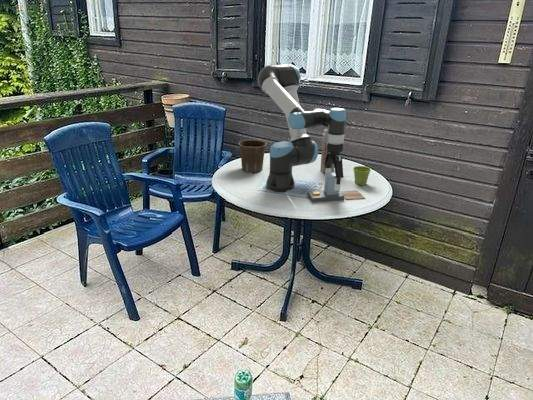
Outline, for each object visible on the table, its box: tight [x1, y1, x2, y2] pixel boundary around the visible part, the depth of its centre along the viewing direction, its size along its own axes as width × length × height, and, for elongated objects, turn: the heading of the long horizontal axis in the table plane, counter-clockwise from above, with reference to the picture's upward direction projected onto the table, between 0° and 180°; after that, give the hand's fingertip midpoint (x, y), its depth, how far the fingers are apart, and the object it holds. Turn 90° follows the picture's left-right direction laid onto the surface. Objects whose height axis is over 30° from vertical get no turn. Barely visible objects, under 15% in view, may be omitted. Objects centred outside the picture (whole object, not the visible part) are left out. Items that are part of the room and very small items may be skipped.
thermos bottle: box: [319, 127, 335, 174], centre depth 228 cm, size 8×8×28 cm
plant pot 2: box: [352, 165, 372, 186], centre depth 213 cm, size 9×9×9 cm
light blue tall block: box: [323, 172, 340, 196], centre depth 193 cm, size 4×6×12 cm
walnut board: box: [339, 190, 366, 201], centre depth 197 cm, size 10×10×1 cm
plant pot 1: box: [238, 139, 268, 174], centre depth 231 cm, size 16×16×16 cm
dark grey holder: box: [306, 189, 345, 203], centre depth 194 cm, size 9×16×4 cm, turn 101°
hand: (332, 185), depth 192 cm, fingers open, 12 cm apart
